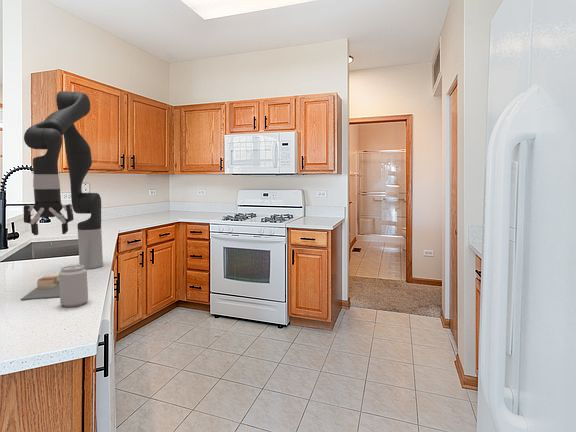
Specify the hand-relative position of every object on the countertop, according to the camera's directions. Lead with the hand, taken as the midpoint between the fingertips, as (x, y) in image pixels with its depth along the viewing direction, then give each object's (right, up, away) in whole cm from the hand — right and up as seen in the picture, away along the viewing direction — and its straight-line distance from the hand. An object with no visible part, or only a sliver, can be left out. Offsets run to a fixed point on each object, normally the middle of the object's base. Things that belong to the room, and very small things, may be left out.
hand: (50, 234), depth 123 cm
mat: (0, -20, +3) cm, 20 cm away
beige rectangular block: (-4, -19, +6) cm, 20 cm away
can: (+15, -22, -11) cm, 29 cm away
